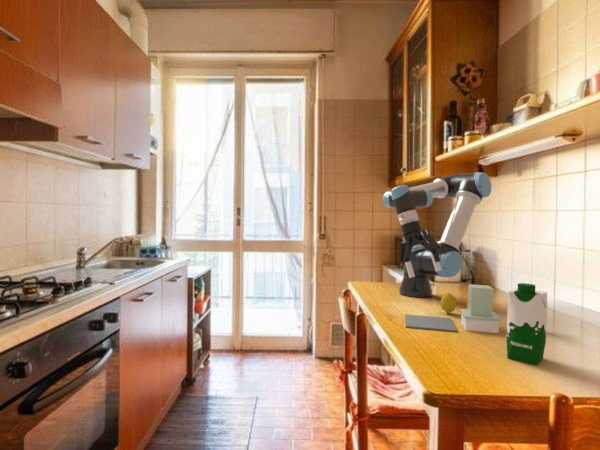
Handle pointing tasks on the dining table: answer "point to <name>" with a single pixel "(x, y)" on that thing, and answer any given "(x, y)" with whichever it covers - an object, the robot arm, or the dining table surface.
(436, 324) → the mat
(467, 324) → the open box
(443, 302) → the lemon
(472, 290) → the lid
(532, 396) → the dining table surface
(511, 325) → the milk carton
